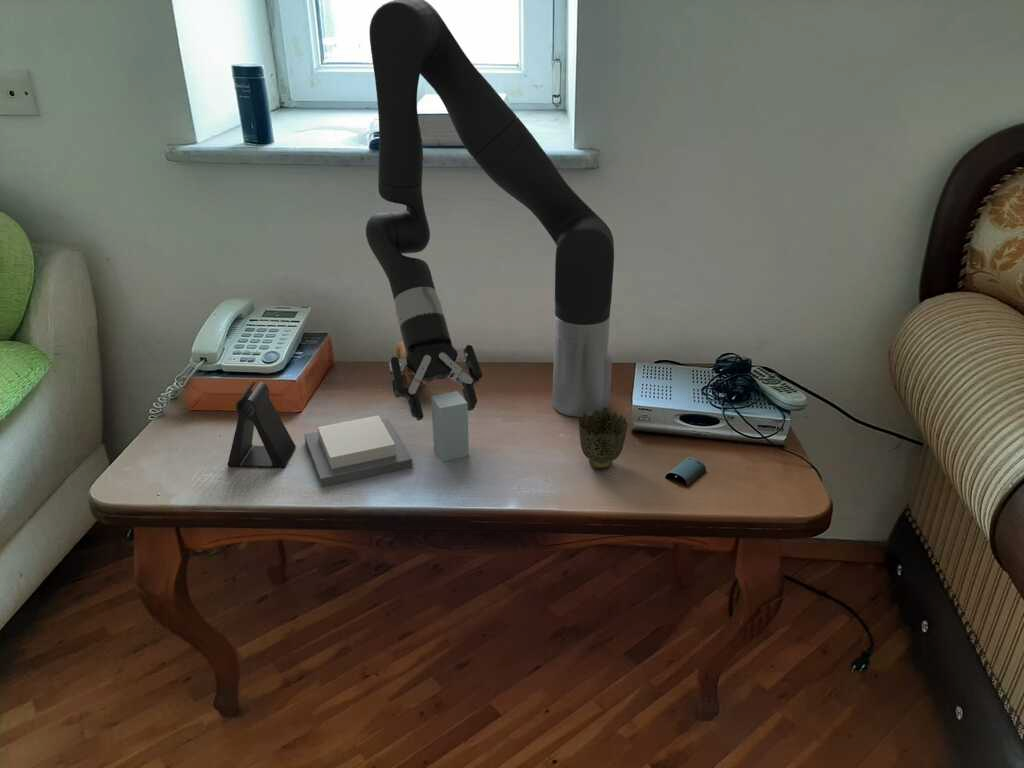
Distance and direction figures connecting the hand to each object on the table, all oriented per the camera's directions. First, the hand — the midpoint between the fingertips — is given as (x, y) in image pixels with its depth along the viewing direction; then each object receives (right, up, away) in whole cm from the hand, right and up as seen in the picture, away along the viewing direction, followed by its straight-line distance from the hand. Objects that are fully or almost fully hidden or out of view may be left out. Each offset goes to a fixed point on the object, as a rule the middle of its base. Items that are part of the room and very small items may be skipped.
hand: (446, 413), depth 124 cm
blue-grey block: (+1, -6, +2) cm, 6 cm away
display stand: (-14, -7, +1) cm, 16 cm away
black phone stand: (-29, -7, 0) cm, 30 cm away
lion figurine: (-8, +5, +25) cm, 27 cm away
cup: (+24, -8, -2) cm, 26 cm away
